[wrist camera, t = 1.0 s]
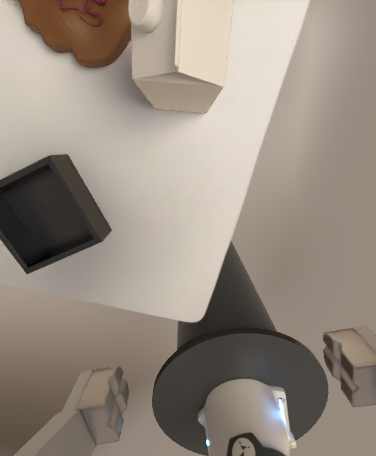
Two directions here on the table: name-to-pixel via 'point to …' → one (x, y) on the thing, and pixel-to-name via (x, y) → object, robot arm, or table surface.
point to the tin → (48, 213)
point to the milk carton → (180, 51)
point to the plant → (81, 27)
